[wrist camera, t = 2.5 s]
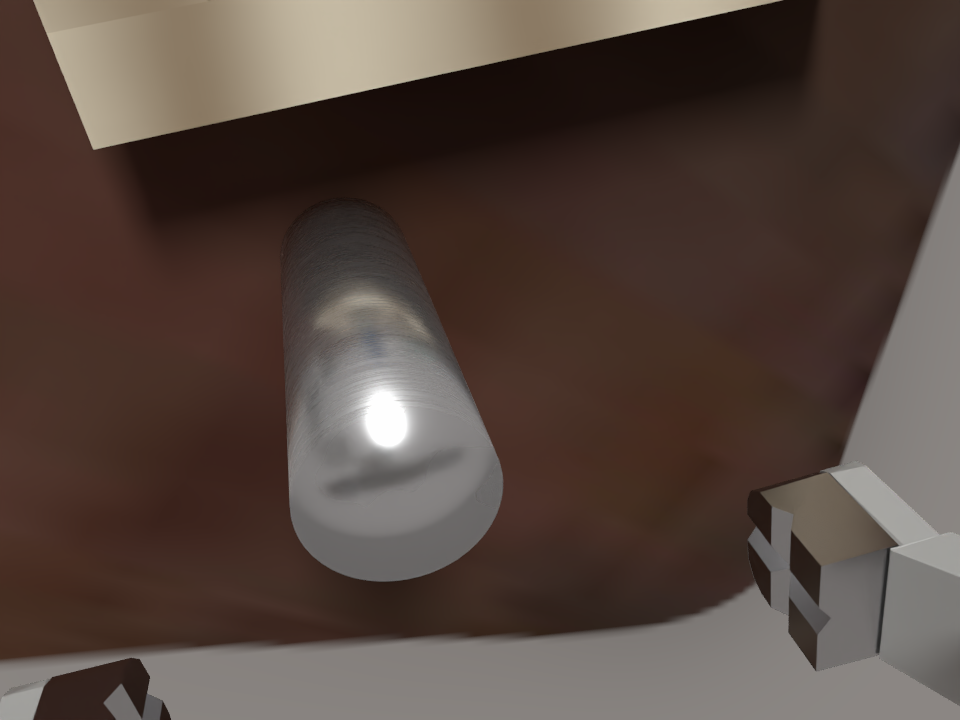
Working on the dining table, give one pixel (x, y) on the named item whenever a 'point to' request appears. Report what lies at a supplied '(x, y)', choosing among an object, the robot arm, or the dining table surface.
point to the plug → (376, 404)
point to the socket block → (303, 49)
